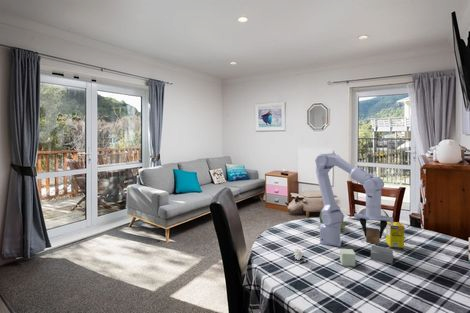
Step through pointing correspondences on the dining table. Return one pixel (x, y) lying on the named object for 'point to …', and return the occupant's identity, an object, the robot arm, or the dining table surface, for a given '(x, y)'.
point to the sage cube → (347, 257)
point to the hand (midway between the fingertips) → (372, 236)
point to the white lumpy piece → (298, 254)
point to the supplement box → (395, 235)
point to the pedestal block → (382, 254)
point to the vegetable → (323, 223)
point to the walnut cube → (373, 236)
